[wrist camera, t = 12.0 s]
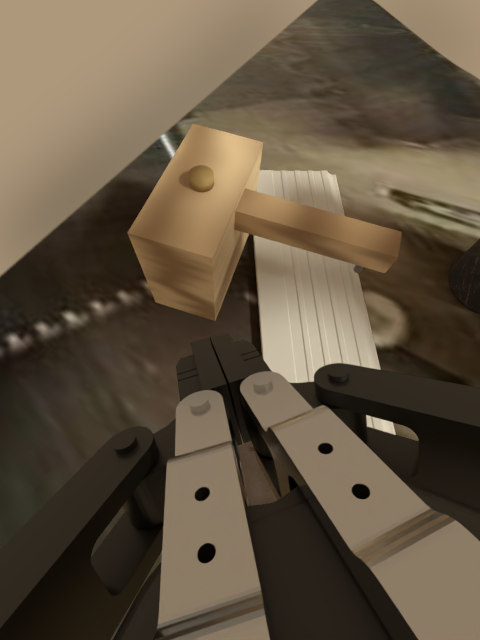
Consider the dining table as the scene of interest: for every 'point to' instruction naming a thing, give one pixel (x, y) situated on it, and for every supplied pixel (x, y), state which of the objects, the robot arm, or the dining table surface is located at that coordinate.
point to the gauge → (233, 224)
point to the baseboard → (310, 294)
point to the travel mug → (467, 278)
